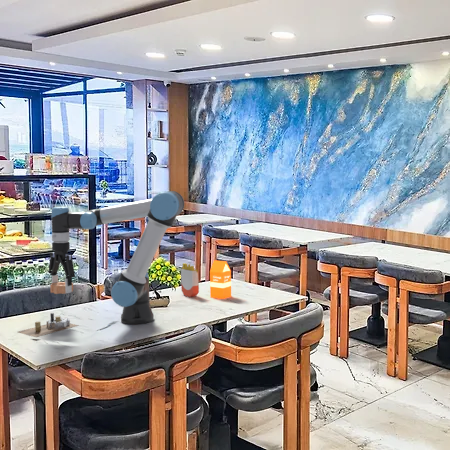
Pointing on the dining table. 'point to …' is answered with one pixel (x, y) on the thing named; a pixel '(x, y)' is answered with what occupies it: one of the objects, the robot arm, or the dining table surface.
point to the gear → (59, 324)
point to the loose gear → (58, 288)
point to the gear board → (43, 329)
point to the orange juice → (220, 280)
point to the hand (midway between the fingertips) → (61, 291)
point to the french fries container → (189, 280)
